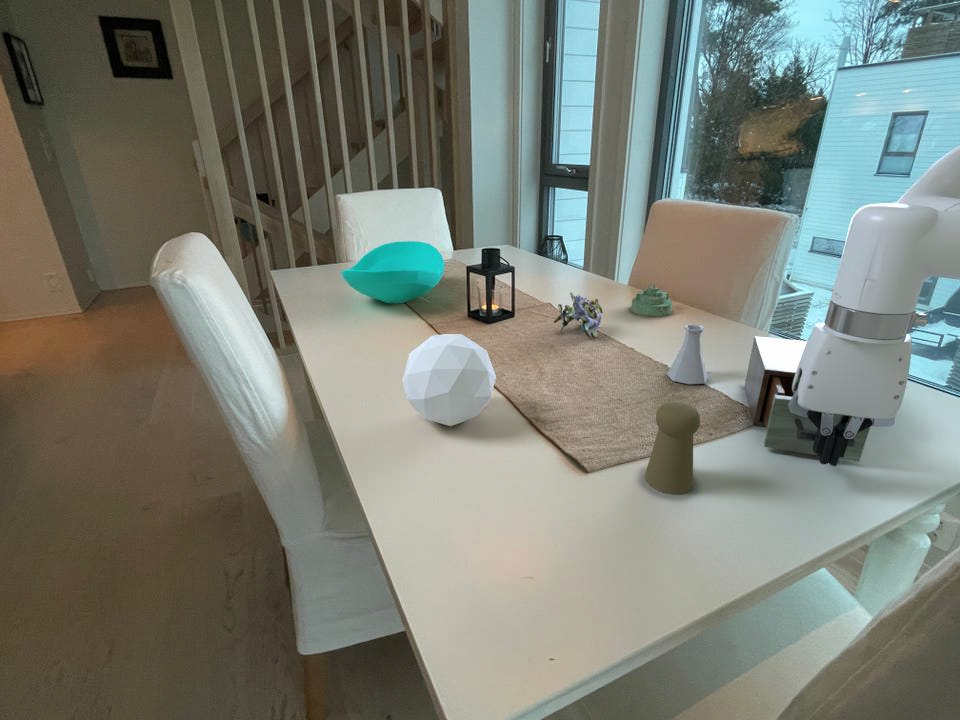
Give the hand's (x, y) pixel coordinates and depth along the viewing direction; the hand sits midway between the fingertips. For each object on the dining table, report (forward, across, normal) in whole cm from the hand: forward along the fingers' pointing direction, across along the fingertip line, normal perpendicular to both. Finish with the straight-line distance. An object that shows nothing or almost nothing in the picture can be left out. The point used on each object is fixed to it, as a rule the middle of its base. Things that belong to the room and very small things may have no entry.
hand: (825, 458), depth 64 cm
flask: (+4, +16, -29) cm, 33 cm away
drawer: (+3, 0, -11) cm, 11 cm away
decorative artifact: (+4, +24, -69) cm, 74 cm away
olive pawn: (+4, +18, +5) cm, 19 cm away
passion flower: (+4, +40, -46) cm, 61 cm away
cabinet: (+4, 0, -21) cm, 21 cm away
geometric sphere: (+4, +52, -1) cm, 52 cm away
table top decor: (+4, +94, -59) cm, 111 cm away
